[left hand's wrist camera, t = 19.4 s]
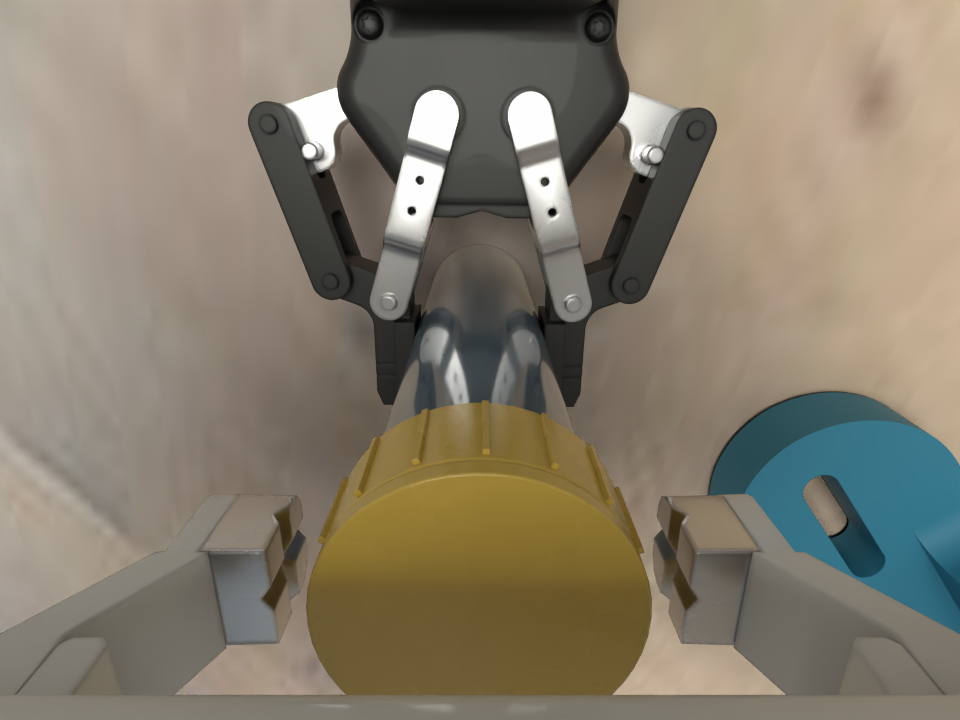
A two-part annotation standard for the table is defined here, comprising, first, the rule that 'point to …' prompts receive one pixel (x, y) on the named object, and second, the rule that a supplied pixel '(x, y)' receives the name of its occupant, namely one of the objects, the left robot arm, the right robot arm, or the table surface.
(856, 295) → the table surface
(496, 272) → the grey long cylinder
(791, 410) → the camera mount
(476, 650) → the lid
